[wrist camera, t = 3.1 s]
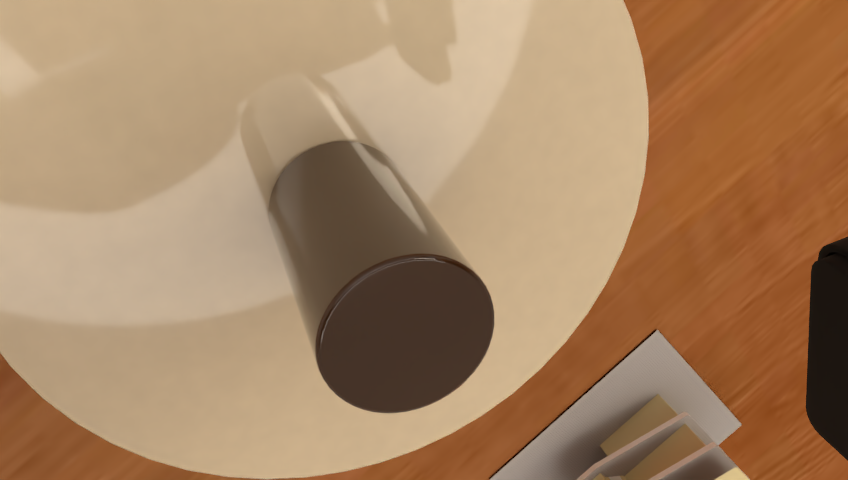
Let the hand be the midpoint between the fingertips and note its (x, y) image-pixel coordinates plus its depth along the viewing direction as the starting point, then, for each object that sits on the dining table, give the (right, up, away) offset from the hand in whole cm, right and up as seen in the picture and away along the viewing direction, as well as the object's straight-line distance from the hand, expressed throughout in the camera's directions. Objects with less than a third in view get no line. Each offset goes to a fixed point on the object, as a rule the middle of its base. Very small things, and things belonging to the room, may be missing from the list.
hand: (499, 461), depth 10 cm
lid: (-3, +4, +8) cm, 9 cm away
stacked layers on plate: (+8, -7, +28) cm, 30 cm away
